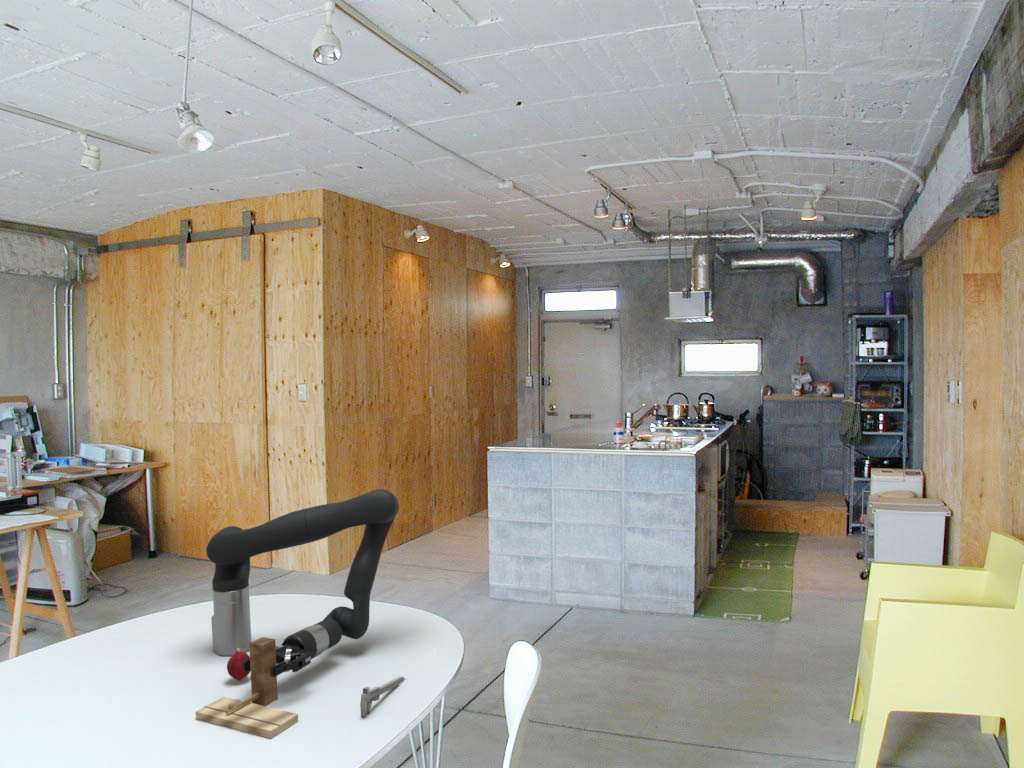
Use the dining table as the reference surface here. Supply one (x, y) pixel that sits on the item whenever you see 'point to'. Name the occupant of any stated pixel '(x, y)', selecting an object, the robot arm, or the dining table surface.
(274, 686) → the block
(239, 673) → the onion
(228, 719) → the board
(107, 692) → the dining table surface
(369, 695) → the caliper
